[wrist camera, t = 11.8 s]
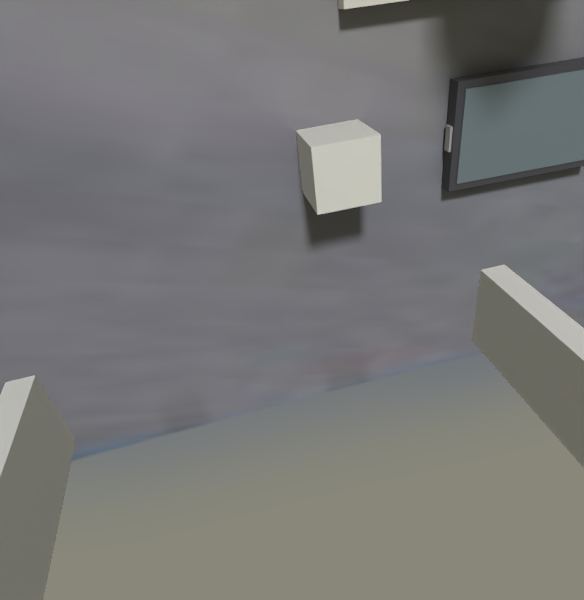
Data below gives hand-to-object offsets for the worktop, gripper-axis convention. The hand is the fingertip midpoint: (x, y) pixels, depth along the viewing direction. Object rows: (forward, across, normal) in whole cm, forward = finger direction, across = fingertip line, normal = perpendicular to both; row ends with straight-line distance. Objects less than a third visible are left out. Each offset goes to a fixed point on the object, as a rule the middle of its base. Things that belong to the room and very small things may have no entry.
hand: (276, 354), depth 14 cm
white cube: (+18, +7, -1) cm, 20 cm away
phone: (+18, +20, -1) cm, 27 cm away
